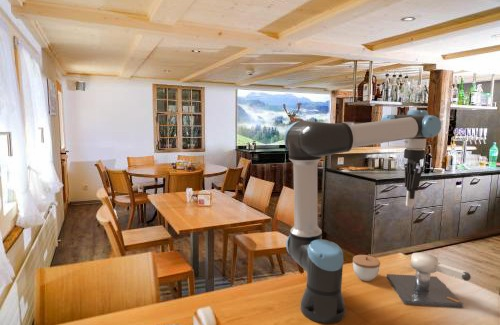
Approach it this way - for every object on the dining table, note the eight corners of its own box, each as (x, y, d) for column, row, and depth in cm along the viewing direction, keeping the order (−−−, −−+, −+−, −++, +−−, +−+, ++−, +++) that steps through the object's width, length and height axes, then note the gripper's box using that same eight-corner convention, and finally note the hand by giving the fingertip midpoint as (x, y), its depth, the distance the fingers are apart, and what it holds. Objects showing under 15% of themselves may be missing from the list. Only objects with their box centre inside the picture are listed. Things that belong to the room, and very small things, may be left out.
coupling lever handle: (406, 266, 129) (407, 256, 128) (416, 260, 135) (417, 250, 134) (465, 287, 114) (466, 276, 114) (474, 279, 120) (475, 268, 119)
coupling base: (404, 304, 121) (406, 279, 120) (386, 277, 141) (388, 255, 139) (462, 307, 119) (465, 282, 118) (436, 280, 139) (438, 258, 138)
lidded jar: (347, 271, 145) (349, 251, 144) (371, 271, 146) (372, 250, 145) (358, 284, 135) (359, 262, 133) (383, 283, 136) (385, 261, 134)
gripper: (399, 147, 142) (394, 201, 145) (411, 150, 129) (406, 209, 132) (417, 147, 141) (412, 202, 145) (431, 150, 128) (426, 210, 132)
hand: (409, 205), depth 139 cm, fingers closed
